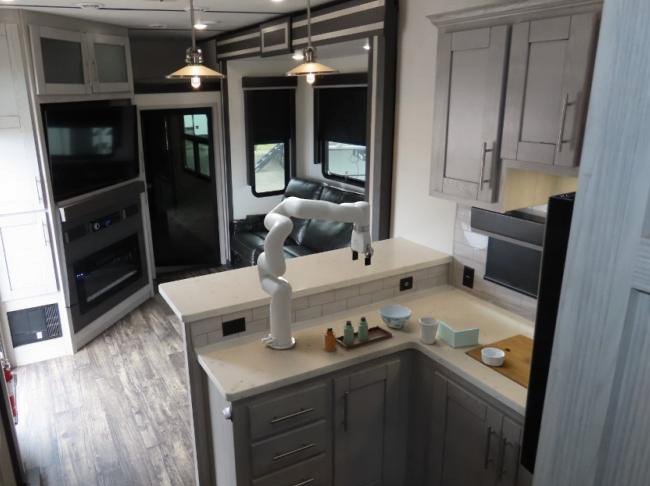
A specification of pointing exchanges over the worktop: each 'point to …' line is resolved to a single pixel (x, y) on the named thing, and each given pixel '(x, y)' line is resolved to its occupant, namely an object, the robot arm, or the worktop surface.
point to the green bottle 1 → (348, 333)
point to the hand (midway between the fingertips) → (361, 262)
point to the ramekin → (492, 356)
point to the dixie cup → (428, 329)
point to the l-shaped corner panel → (458, 336)
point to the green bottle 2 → (363, 329)
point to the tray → (373, 336)
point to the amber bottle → (329, 339)
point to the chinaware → (395, 315)
